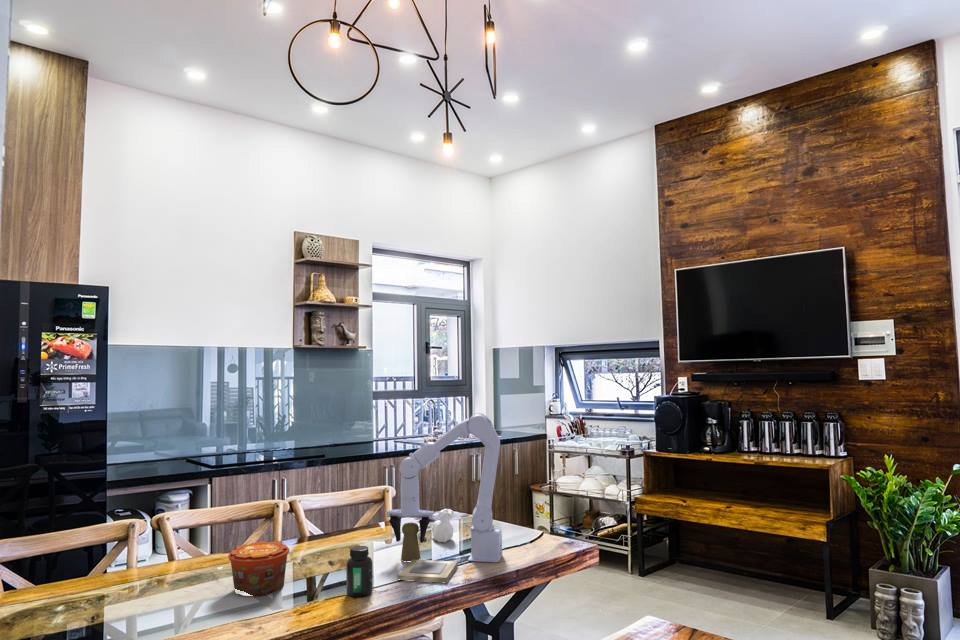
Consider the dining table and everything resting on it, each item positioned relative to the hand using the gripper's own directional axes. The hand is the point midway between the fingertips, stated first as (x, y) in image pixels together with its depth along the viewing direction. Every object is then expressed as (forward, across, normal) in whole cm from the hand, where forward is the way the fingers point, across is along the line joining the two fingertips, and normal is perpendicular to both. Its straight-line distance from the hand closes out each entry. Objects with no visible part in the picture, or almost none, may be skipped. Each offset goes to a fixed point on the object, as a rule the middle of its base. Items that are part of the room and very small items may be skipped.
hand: (410, 541), depth 205 cm
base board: (+5, +9, -12) cm, 16 cm away
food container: (+6, -34, -30) cm, 46 cm away
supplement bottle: (+6, -5, -30) cm, 31 cm away
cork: (+6, 0, 0) cm, 6 cm away
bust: (+6, +5, +22) cm, 23 cm away
